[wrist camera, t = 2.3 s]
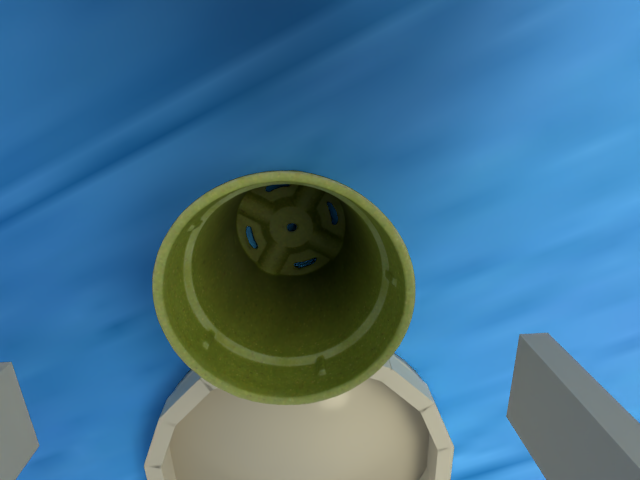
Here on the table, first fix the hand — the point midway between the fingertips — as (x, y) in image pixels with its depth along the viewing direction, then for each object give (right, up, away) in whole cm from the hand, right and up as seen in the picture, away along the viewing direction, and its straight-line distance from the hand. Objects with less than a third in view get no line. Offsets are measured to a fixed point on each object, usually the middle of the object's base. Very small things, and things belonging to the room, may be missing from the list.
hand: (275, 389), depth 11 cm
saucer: (0, -10, +18) cm, 20 cm away
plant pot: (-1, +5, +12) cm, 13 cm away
